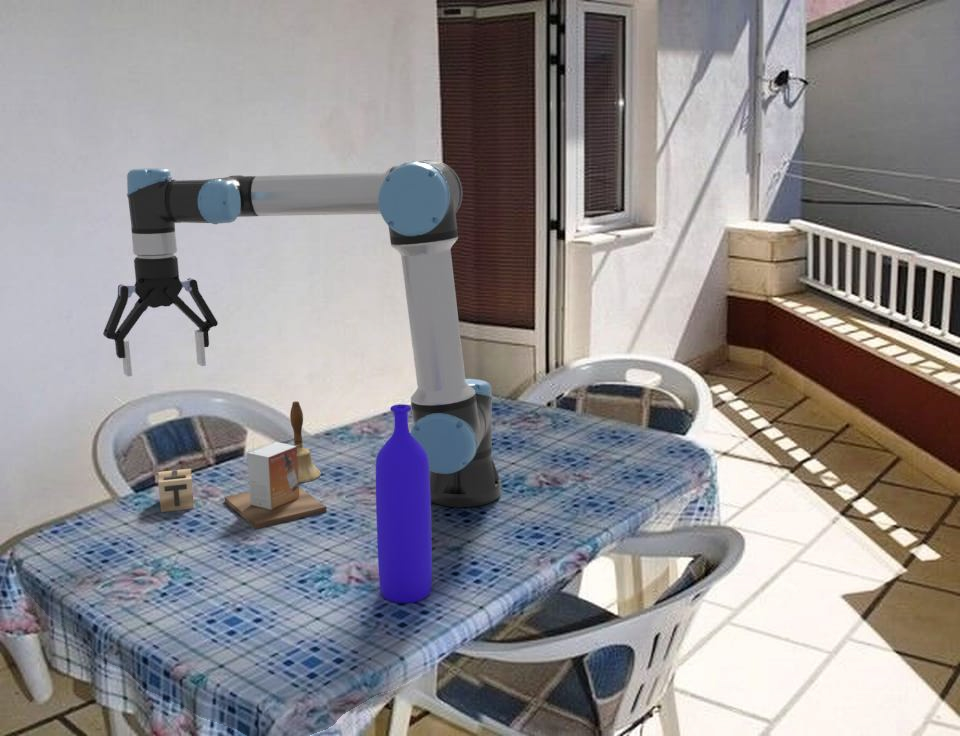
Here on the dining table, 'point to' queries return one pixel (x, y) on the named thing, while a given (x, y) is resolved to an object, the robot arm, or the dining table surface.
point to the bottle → (403, 515)
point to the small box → (273, 475)
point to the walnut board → (275, 509)
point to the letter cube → (175, 490)
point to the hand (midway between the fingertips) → (165, 369)
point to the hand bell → (303, 455)
